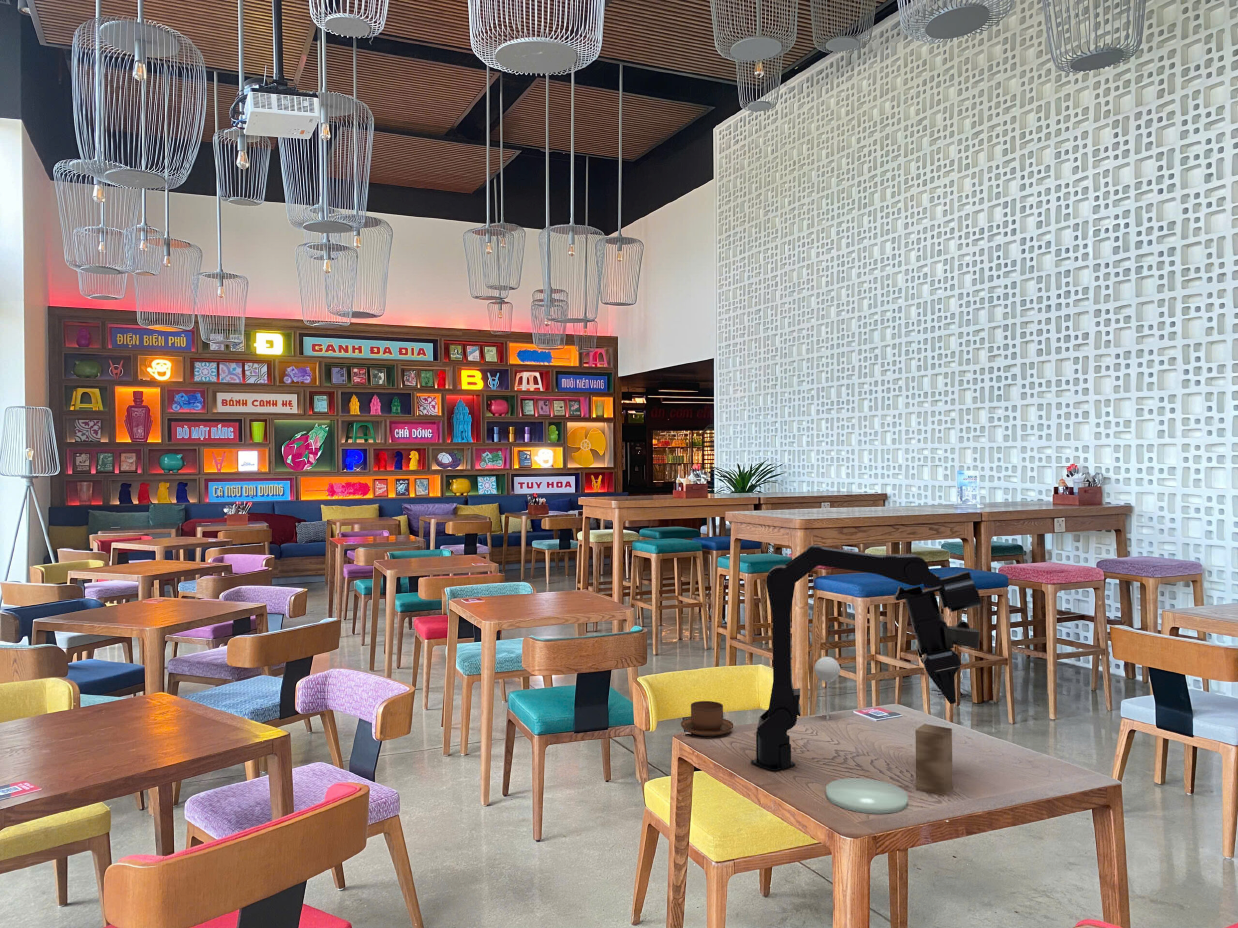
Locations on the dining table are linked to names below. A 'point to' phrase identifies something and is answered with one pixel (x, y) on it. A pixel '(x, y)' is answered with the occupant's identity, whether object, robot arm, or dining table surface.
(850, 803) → the dish
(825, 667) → the lollipop
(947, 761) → the walnut block
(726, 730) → the cup and saucer
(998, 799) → the dining table surface
